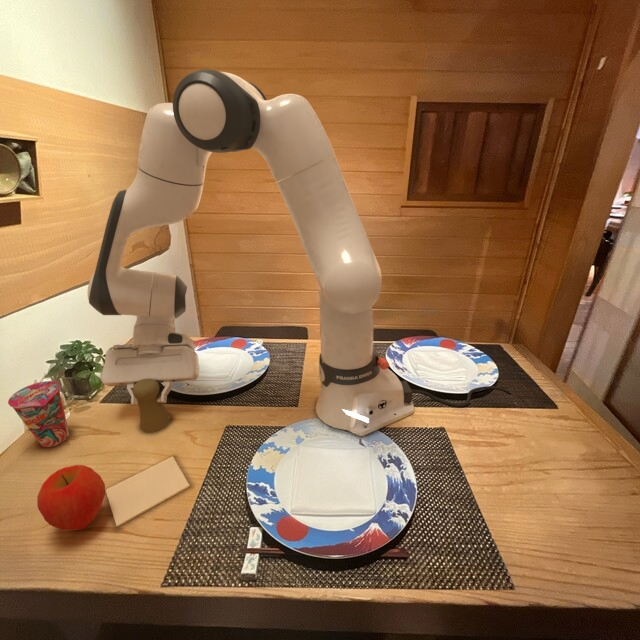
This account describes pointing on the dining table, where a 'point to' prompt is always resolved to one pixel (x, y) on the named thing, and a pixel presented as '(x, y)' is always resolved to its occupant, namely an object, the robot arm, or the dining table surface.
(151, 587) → the dining table surface
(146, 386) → the pepper shaker
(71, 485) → the apple
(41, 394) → the cup
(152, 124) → the robot arm
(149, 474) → the napkin
